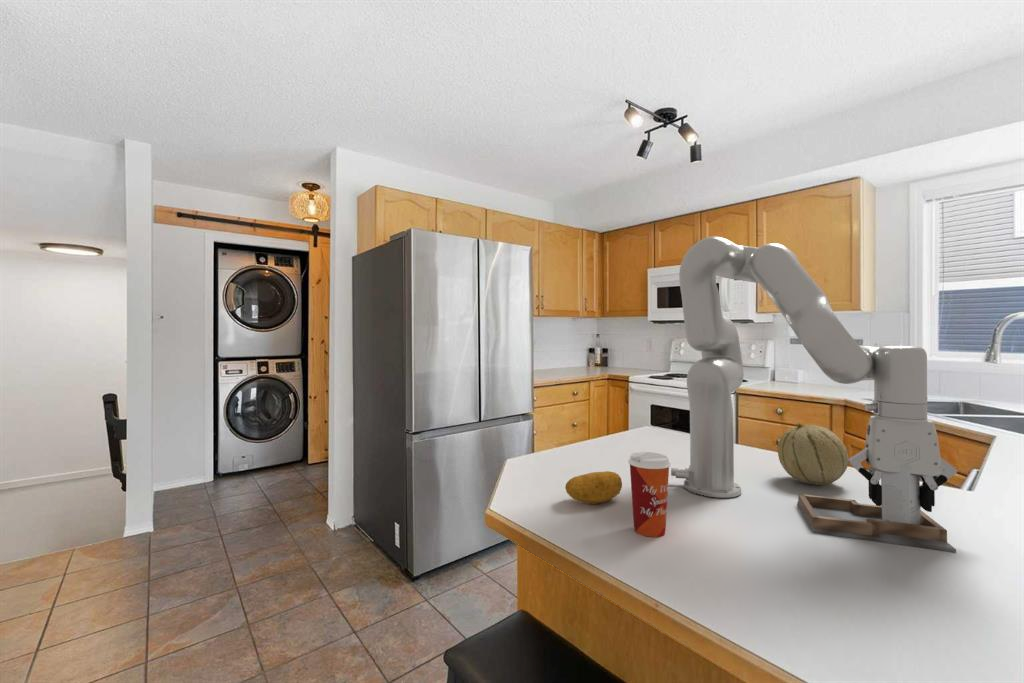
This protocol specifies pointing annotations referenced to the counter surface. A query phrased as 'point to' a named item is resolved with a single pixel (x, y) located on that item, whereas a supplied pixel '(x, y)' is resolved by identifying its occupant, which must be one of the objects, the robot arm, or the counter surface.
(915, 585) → the counter surface
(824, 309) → the robot arm
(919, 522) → the skincare box
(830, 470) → the cantaloupe
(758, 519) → the counter surface
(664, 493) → the paper cup
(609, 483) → the potato
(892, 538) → the angular wooden tray
